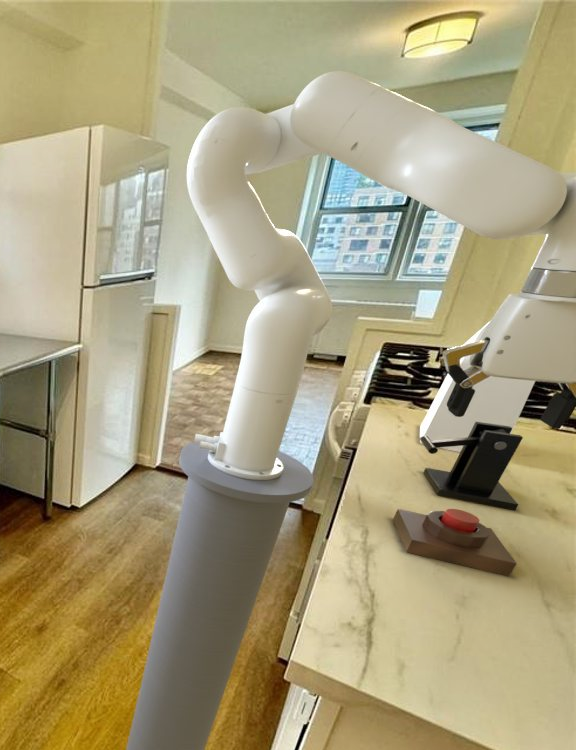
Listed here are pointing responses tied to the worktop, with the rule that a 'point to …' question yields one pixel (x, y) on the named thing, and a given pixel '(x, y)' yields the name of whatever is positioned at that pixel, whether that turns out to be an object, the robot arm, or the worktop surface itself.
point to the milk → (476, 405)
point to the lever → (451, 441)
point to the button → (460, 520)
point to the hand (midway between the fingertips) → (500, 419)
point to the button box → (452, 542)
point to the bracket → (479, 469)
